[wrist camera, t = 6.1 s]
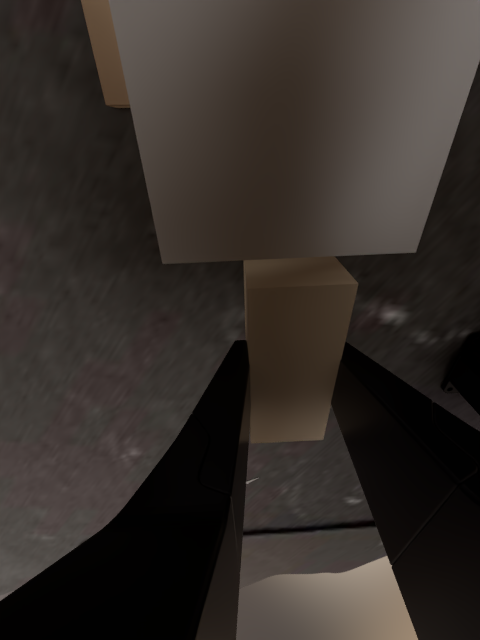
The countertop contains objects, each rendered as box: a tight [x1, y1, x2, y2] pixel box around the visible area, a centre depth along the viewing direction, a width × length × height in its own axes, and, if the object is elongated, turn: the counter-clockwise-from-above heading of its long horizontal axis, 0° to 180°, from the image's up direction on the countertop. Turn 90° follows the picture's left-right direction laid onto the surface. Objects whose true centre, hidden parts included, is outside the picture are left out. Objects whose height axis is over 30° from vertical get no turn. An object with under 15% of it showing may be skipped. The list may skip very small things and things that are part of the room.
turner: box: [108, 0, 480, 443], centre depth 7 cm, size 7×11×2 cm, turn 2°
